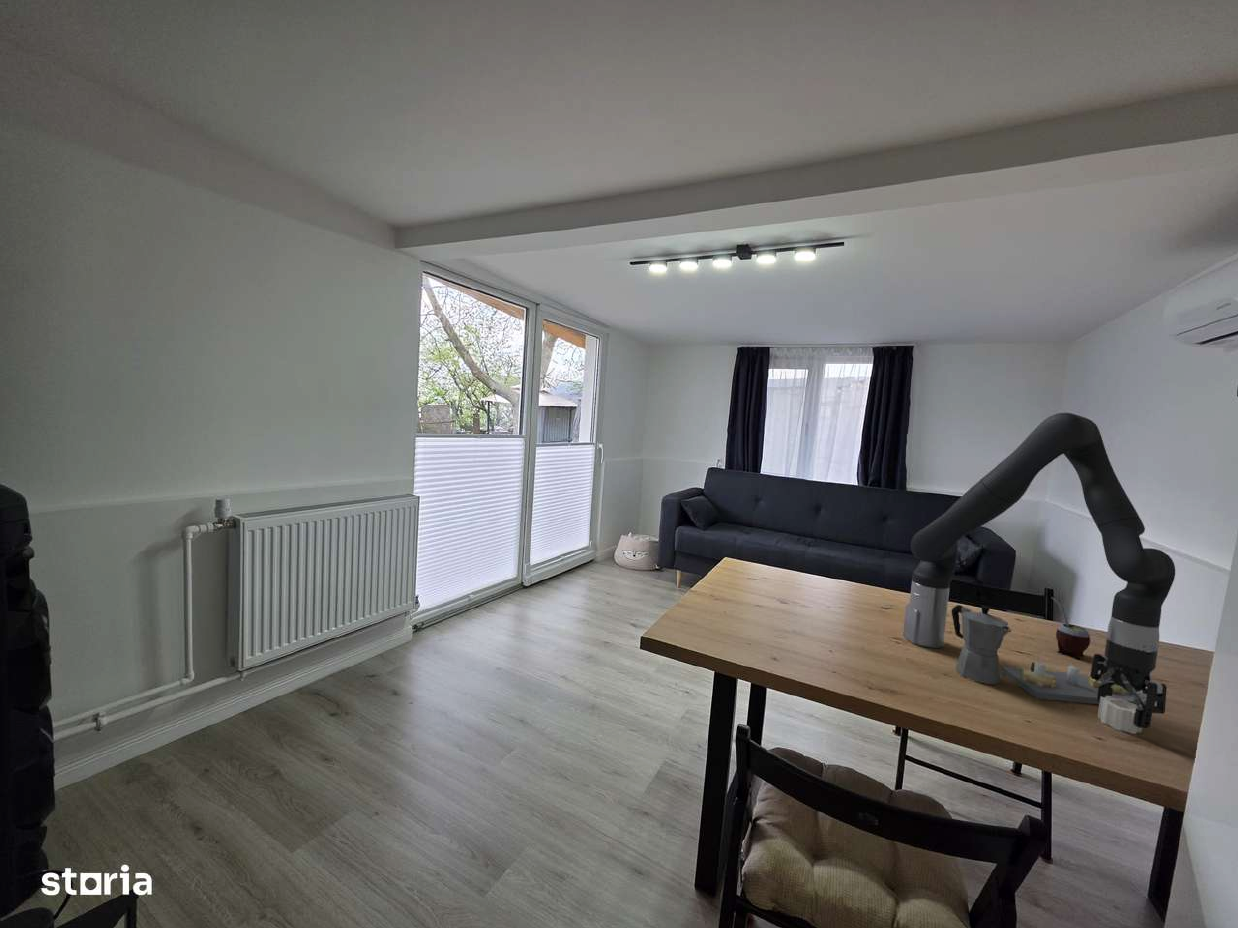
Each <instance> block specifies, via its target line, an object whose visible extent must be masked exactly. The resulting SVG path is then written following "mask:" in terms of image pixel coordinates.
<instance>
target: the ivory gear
mask: <svg viewBox="0 0 1238 928" xmlns="http://www.w3.org/2000/svg"><path fill="white" fill-rule="evenodd" d="M1136 708H1137V706H1136V704H1133V703H1130V702H1128V701H1127V700H1124V699H1121V698H1120V699H1118V698H1114V697H1112V696H1106V697H1100V703H1099V704H1098V709H1097V710H1098V713H1097V718H1098V719H1100V722H1101V723H1102V724H1104V725H1107V726H1109V727H1111V728H1113V729H1115V730H1117V731H1119V732H1121V731H1122V732H1127V733H1130V734H1132V735H1133V734H1134V735H1137V733H1140V734H1141V733H1142V731H1143V728H1139V727H1137V726H1135V725H1134V719H1135V712H1136Z"/></svg>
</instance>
